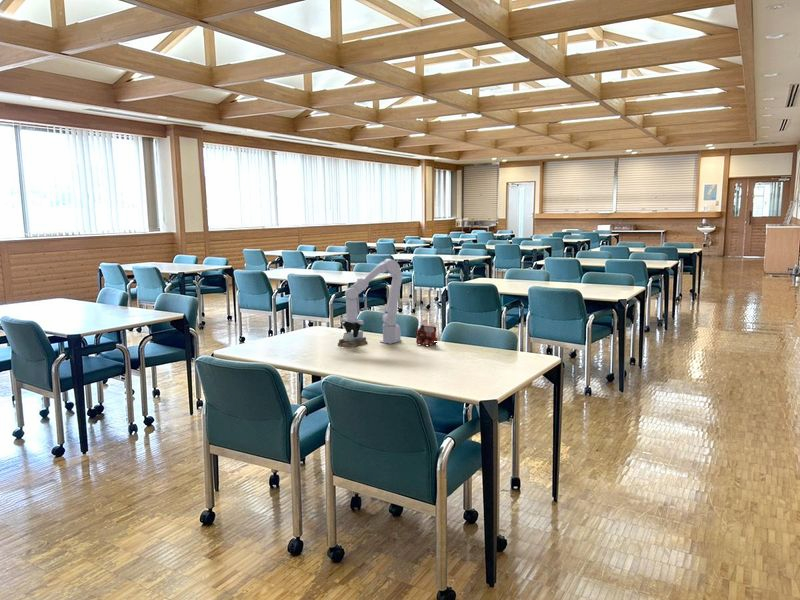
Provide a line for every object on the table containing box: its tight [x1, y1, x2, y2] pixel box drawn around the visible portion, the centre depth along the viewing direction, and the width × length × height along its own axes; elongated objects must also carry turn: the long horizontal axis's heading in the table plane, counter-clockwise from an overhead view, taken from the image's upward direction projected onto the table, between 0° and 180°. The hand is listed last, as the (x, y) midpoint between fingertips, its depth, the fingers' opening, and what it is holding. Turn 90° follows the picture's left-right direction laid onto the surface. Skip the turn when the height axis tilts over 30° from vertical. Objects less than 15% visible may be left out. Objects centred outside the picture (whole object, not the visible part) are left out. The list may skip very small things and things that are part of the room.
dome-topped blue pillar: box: [342, 329, 364, 341], centre depth 309 cm, size 12×4×4 cm, turn 140°
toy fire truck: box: [415, 324, 438, 347], centre depth 305 cm, size 7×12×10 cm, turn 48°
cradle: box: [337, 336, 368, 348], centre depth 309 cm, size 12×10×3 cm
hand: (352, 336), depth 309 cm, fingers closed on dome-topped blue pillar, 4 cm apart
